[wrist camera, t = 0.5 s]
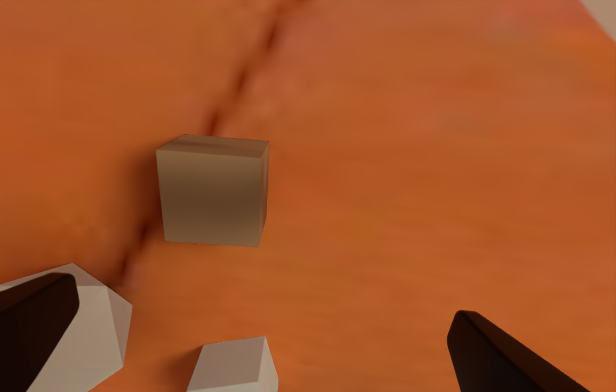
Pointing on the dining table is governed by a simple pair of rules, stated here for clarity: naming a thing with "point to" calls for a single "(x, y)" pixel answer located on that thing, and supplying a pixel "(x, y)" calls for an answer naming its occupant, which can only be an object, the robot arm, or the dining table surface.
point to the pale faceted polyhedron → (85, 337)
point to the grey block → (235, 367)
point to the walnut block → (213, 189)
